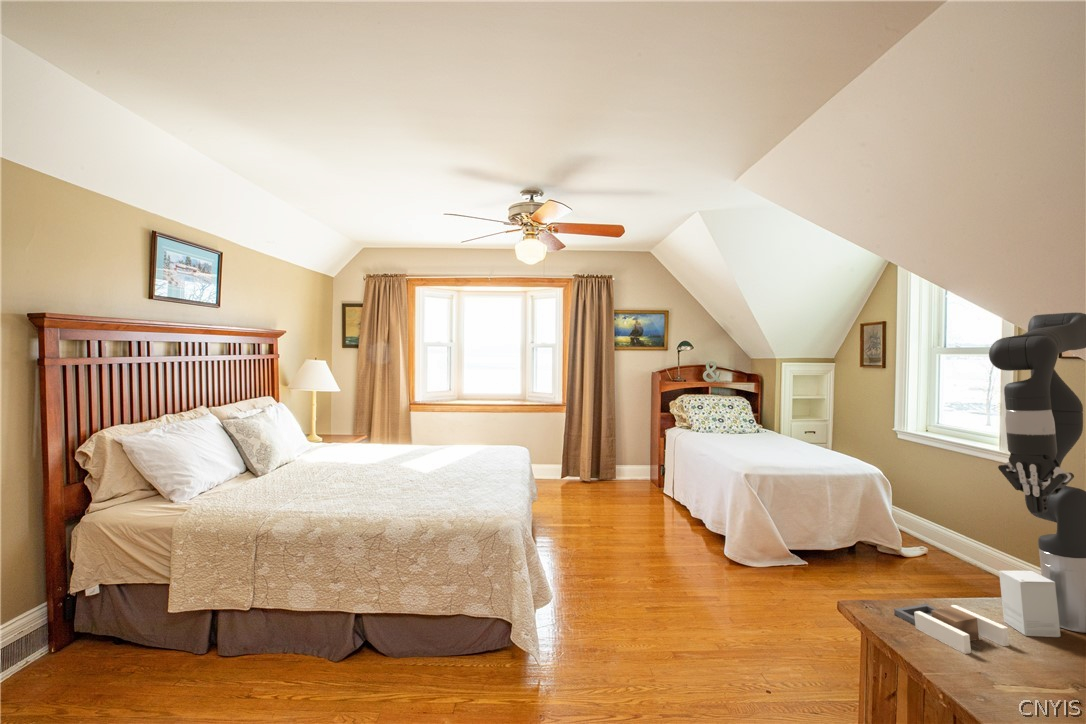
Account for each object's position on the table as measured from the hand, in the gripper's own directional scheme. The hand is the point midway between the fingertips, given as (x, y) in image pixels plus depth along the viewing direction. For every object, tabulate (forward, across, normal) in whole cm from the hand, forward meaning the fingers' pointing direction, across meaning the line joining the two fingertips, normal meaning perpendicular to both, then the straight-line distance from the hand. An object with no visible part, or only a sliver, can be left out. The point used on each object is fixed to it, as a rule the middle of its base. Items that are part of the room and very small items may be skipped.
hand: (1037, 513), depth 106 cm
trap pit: (+32, +25, +5) cm, 41 cm away
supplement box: (+32, +13, -13) cm, 37 cm away
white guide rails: (+32, +15, +5) cm, 36 cm away
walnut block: (+32, +16, +5) cm, 36 cm away
